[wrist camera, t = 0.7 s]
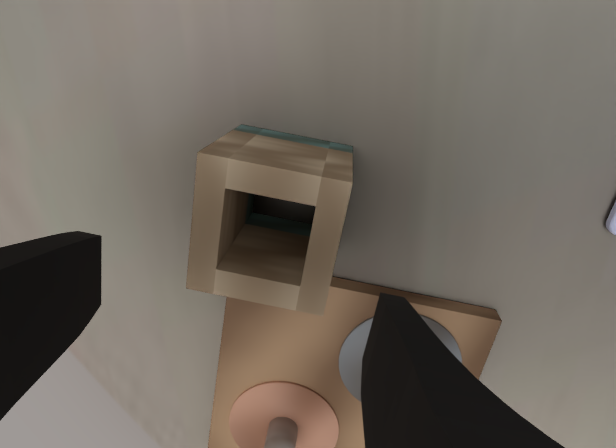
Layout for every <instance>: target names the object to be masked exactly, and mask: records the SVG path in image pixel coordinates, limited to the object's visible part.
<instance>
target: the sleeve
mask: <svg viewBox="0 0 616 448" xmlns="http://www.w3.org/2000/svg"><path fill="white" fill-rule="evenodd" d="M352 184H353V146H349V145H344V144H339V143H334V142H329V141H324V140H318V139H313V138H308V137H303V136H298V135H293V134H288V133H283V132H277V131H272V130H267V129H262V128H257V127H252V126H247V125H240V126H238V127H237V128H235V129H234V130H232V131H230V132H229V133H227V134H226V135H224V136H223V137H221V138H219V139H218V140H216V141H215V142H213V143H211V144H210V145H208V146H207V147H205V148H204V149H202V150H200V151H199V152H198V153H197V165H196V176H195V188H194V200H193V212H192V223H191V235H190V247H189V259H188V270H187V282H186V288H187V289H192V290H197V291H202V292H206V293H211V294H216V295H221V296H226V297H231V298H236V299H241V300H246V301H250V302H255V303H260V304H265V305H270V306H275V307H280V308H285V309H290V310H294V311H299V312H304V313H309V314H314V315H319V316H323V315H324V310H325V306H326V301H327V297H328V292H329V288H330V283H331V279H332V274H333V270H334V265H335V261H336V256H337V252H338V247H339V243H340V238H341V234H342V229H343V225H344V220H345V216H346V211H347V207H348V202H349V198H350V193H351V189H352ZM255 194H257V195H262V196H267V197H272V198H277V199H282V200H287V201H292V202H297V203H302V204H307V205H312V206H316V208H315V213H314V218H313V223H312V224H307V223H302V222H297V221H292V220H287V219H282V218H277V217H272V216H267V215H262V214H257V213H252V210H253V202H254V195H255Z"/></svg>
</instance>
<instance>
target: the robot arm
mask: <svg viewBox="0 0 616 448" xmlns="http://www.w3.org/2000/svg"><path fill="white" fill-rule="evenodd" d="M606 228H607V229H608V230H609V231H610V232H611V233H613V234H615V235H616V201H615V203H614V206H613V208H612V210H611V212H610V214H609V216H608V219H607V221H606ZM100 305H101V236H100V235H95V234H90V233H85V232H80V231H75V232H67V233H61V234H56V235H52V236H47V237H43V238H38V239H34V240H30V241H26V242H22V243H18V244H13V245H9V246H5V247H1V248H0V420H1V419H2V418H3V417H4V416H5V415H6V413H7V412H8V411H9V410H10V409H11V408H12V407H13V405H14V404H15V403H16V402H17V401H18V400H19V399H20V398H21V397H22V396H23V395H24V394H25V393H26V392H27V391H28V390H29V388H30V387H31V386H32V385H33V384H34V383H35V382H36V381H37V380H38V379H39V378H40V377H41V376H42V375H43V374H44V373H45V372H46V371H47V370H48V369H49V368H50V367H51V365H52V364H53V363H54V362H55V361H56V360H57V359H58V358H59V357H60V356H61V355H62V354H63V353H64V352H65V351H66V349H67V348H68V347H69V346H70V345H71V344H72V343H73V342H74V341H75V340H76V339H77V338H78V336H79V335H80V334H81V333H82V331H83V330H84V328H85V327H86V326H87V324H88V323H89V322H90V320H91V319H92V317H93V316H94V314H95V313H96V311H97V310H98V308H99V307H100ZM361 405H362V417H363V429H364V440H365V448H564V447H563V446H562V445H560V444H559V443H557V442H556V441H554V440H553V439H551V438H550V437H548V436H547V435H546V434H544V433H543V432H542V431H540V430H539V429H538V428H536V427H535V426H534V425H532V424H531V423H530V422H528V421H527V420H526V419H524V418H523V417H521V416H520V415H519V414H518V413H516V412H515V411H514V410H513V409H511V408H510V407H509V406H508V405H506V404H505V403H504V402H503V401H502V400H501V399H499V398H498V397H497V396H496V395H495V394H494V393H493V392H491V391H490V390H489V389H488V388H487V387H486V386H485V385H483V384H482V383H481V382H480V381H479V380H478V379H477V378H476V377H475V376H474V375H473V374H472V373H471V372H470V371H469V370H468V369H467V368H466V367H465V366H464V365H463V364H462V363H461V362H460V361H459V360H458V359H457V358H456V357H455V356H454V355H453V354H452V353H451V351H450V350H449V349H448V348H447V347H446V346H445V345H444V344H443V343H442V341H441V340H440V339H439V338H438V337H437V336H436V334H435V333H434V332H433V331H432V330H431V329H430V327H429V326H428V325H427V324H426V322H425V321H424V320H423V319H422V318H421V316H420V315H419V314H418V313H417V311H416V310H415V309H414V308H413V306H412V305H411V304H410V303H409V302H408V301H407V299H406V298H405V297H401V296H396V295H391V294H386V293H381V292H380V295H379V299H378V303H377V306H376V310H375V314H374V317H373V321H372V325H371V328H370V332H369V336H368V339H367V343H366V347H365V350H364V354H363V358H362V373H361Z"/></svg>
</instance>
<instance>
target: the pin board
mask: <svg viewBox="0 0 616 448" xmlns="http://www.w3.org/2000/svg"><path fill="white" fill-rule="evenodd" d="M380 292H381V293H386V294H391V295H396V296H401V297H405V298H406V299H407V301H408V302H409V303H410V304H411V305H412V306H413V308H414V309H415V310H416V311H417V313H418V314H419V315H420V316H421V318H422V319H423V320H424V321H425V322H426V324H427V325H428V326H429V327H430V329H431V330H432V331H433V332H434V333H435V334H436V336H437V337H438V338H439V339H440V340H441V341H442V343H443V344H444V345H445V346H446V347H447V348H448V349H449V350H450V351H451V353H452V354H453V355H454V356H455V357H456V358H457V359H458V360H459V361H460V362H461V363H462V364H463V365H464V366H465V367H466V368H467V369H468V370H469V371H470V372H471V373H472V374H473V375H474V376H475V377H476V378H477V379H478V380H479V377H480V375H481V372H482V370H483V367H484V365H485V362H486V360H487V357H488V355H489V352H490V350H491V347H492V345H493V342H494V340H495V337H496V335H497V332H498V330H499V327H500V325H501V322H502V320H501V319H500V317H499V315H498V313H497V311H496V310H495V309H490V308H485V307H480V306H475V305H470V304H465V303H460V302H455V301H450V300H445V299H440V298H435V297H430V296H425V295H420V294H415V293H411V292H406V291H401V290H396V289H391V288H386V287H381V286H376V285H371V284H366V283H361V282H356V281H351V280H346V279H341V278H336V277H332V279H331V283H330V288H329V292H328V297H327V301H326V306H325V310H324V315H323V316H319V315H314V314H309V313H304V312H299V311H294V310H290V309H285V308H280V307H275V306H270V305H265V304H260V303H255V302H250V301H246V300H241V299H236V298H231V297H227V299H226V307H225V315H224V323H223V331H222V339H221V347H220V355H219V363H218V371H217V379H216V387H215V395H214V403H213V411H212V419H211V427H210V435H209V442H208V448H365V440H364V429H363V417H362V405H361V373H362V358H363V354H364V350H365V347H366V343H367V339H368V336H369V332H370V328H371V325H372V321H373V317H374V314H375V310H376V306H377V303H378V299H379V295H380Z"/></svg>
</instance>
